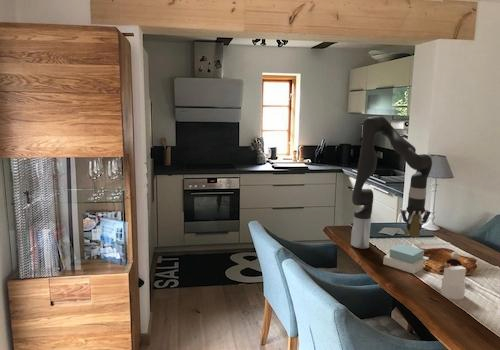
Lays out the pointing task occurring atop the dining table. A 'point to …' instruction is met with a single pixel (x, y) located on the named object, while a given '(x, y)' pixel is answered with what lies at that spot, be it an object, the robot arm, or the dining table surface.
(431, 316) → the dining table surface
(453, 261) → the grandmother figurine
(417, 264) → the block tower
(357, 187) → the robot arm
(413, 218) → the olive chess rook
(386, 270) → the dining table surface
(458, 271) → the white upright block
